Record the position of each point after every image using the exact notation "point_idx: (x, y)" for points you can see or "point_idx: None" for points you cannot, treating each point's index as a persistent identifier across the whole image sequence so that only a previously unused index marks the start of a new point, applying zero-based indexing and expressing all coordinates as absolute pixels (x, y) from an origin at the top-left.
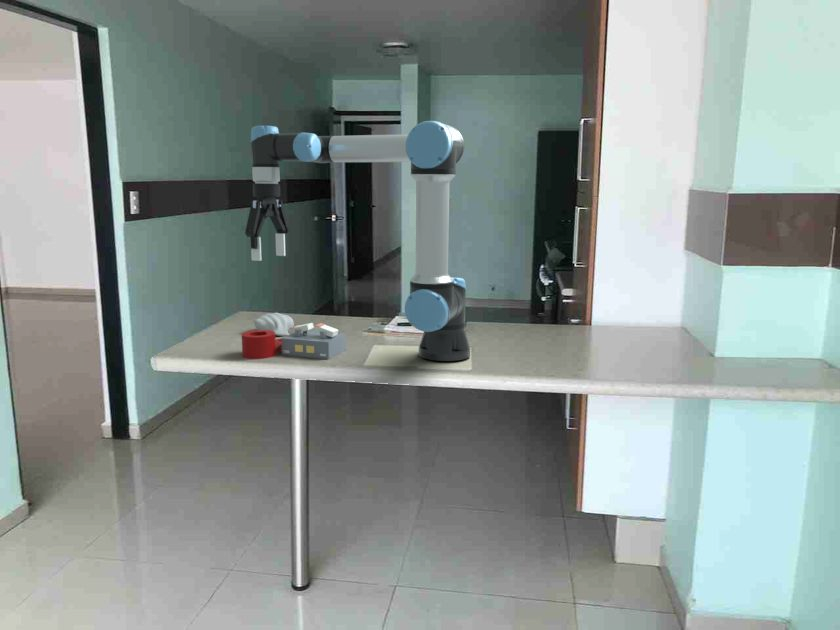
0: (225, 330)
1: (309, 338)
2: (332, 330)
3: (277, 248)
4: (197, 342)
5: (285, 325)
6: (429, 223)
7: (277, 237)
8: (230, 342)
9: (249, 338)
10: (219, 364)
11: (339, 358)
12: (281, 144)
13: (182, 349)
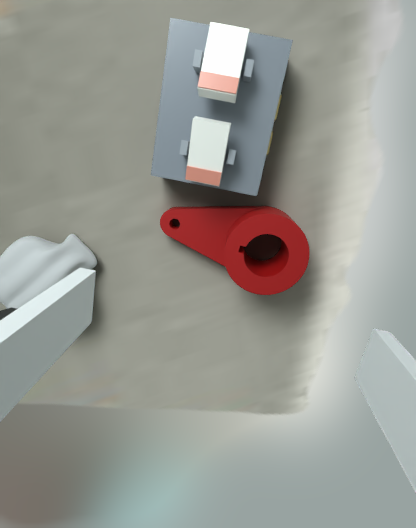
0: (62, 378)
1: (251, 116)
2: (235, 35)
3: (70, 335)
4: (173, 393)
5: (62, 247)
6: None
7: (21, 382)
8: (161, 336)
9: (307, 263)
10: (343, 296)
11: (273, 28)
12: None
13: (232, 399)
